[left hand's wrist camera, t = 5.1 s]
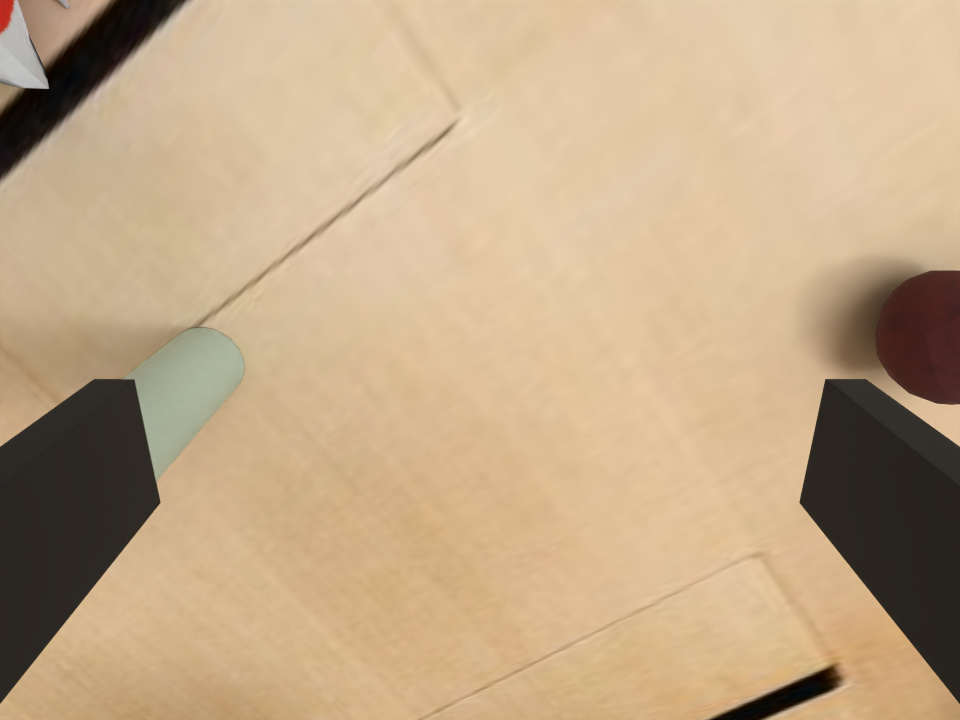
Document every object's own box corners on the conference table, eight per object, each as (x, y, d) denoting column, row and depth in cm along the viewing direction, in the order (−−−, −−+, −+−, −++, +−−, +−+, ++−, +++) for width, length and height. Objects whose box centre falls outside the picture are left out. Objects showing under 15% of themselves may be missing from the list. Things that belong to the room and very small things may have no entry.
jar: (192, 312, 41) (-22, 468, 24) (258, 357, 42) (101, 539, 25) (154, 367, 42) (-74, 555, 25) (219, 410, 44) (44, 618, 26)
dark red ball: (877, 393, 43) (949, 446, 36) (831, 298, 40) (899, 336, 34) (988, 334, 41) (1084, 378, 35) (947, 232, 39) (1042, 258, 32)
